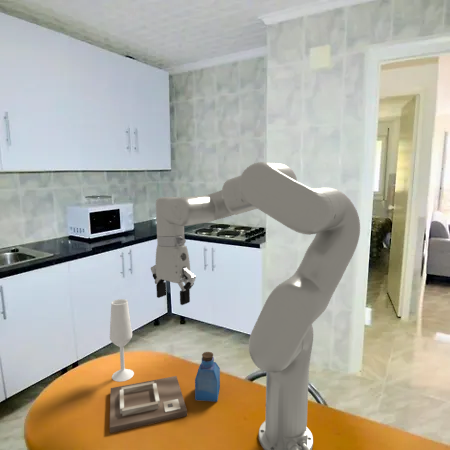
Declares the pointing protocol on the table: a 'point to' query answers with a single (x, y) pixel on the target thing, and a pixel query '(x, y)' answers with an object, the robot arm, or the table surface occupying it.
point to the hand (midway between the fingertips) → (173, 299)
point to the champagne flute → (121, 335)
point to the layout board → (145, 403)
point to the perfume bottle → (207, 379)
